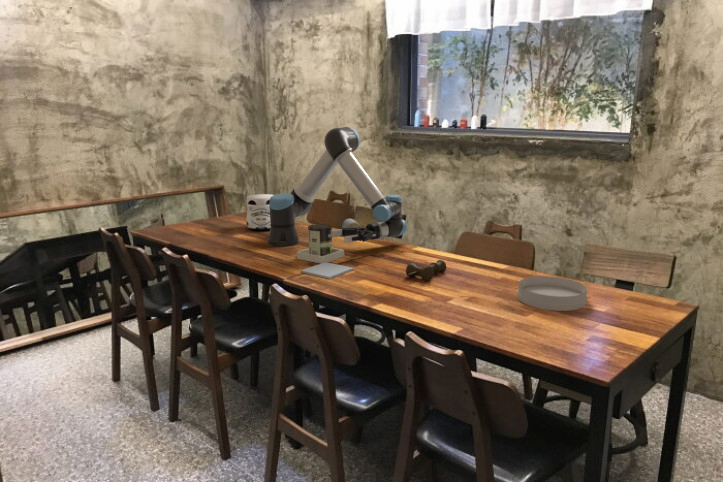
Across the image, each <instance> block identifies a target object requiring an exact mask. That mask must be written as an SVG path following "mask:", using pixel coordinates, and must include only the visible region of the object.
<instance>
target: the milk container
mask: <svg viewBox="0 0 723 482" xmlns="http://www.w3.org/2000/svg"><path fill="white" fill-rule="evenodd" d="M273 195H274V194H270V193H263V194H261V193H258V194H250V195H247V196H246V210H247V212H246V213H247V214H246V218H245V221H246V226H247V228H248V229H250V230H253V231H268V230H269V231H270V229H271V223H270V207H269V203H270V198H271V197H272V196H273Z"/></svg>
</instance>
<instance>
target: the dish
mask: <svg viewBox="0 0 723 482" xmlns="http://www.w3.org/2000/svg"><path fill="white" fill-rule="evenodd" d="M587 293H588V288H587V286H585V284H583V283H581V282H578V281H576V280H572V279H569V278H565V277H558V276H541V275H540V276H530V277H525V278H523V279H521V280H520V281H519V282H518V289H517V299H518V301H519V302H521V303H523V304H525V305H526V306H529V307H532V308H537V309H541V310H545V311H556V312H557V311H558V312H560V311H561V312H563V311H564V312H567V311H575V310H580V309H582V308H584V307H586V305H587V303H588V302H587V300H588V298H587Z"/></svg>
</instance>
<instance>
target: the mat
mask: <svg viewBox="0 0 723 482" xmlns="http://www.w3.org/2000/svg"><path fill="white" fill-rule="evenodd" d="M354 270H355V268H354V267H350V266H347V265H341V264H338V263H337V264H336V263H332V262H325V263H322V264H320V263H318V264H316V265H313V266H310V267H307V268H304V269H300V273H302V274H307V275H311V276H315V277H318V278H319V277H320V278H325V279H329V280H331V279H333V277H334V278H336V277H338V276H342V275H344V274H346V273H349V272H351V271H354ZM330 278H331V279H330Z"/></svg>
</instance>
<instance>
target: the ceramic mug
mask: <svg viewBox="0 0 723 482" xmlns="http://www.w3.org/2000/svg"><path fill="white" fill-rule="evenodd" d="M356 227H361V224H360V223H359V222H357V221H356V220H355V219H353V218H346V219H345V220H344V221H343V222H342V226H341V228H356ZM357 234H358V233H357Z"/></svg>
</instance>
